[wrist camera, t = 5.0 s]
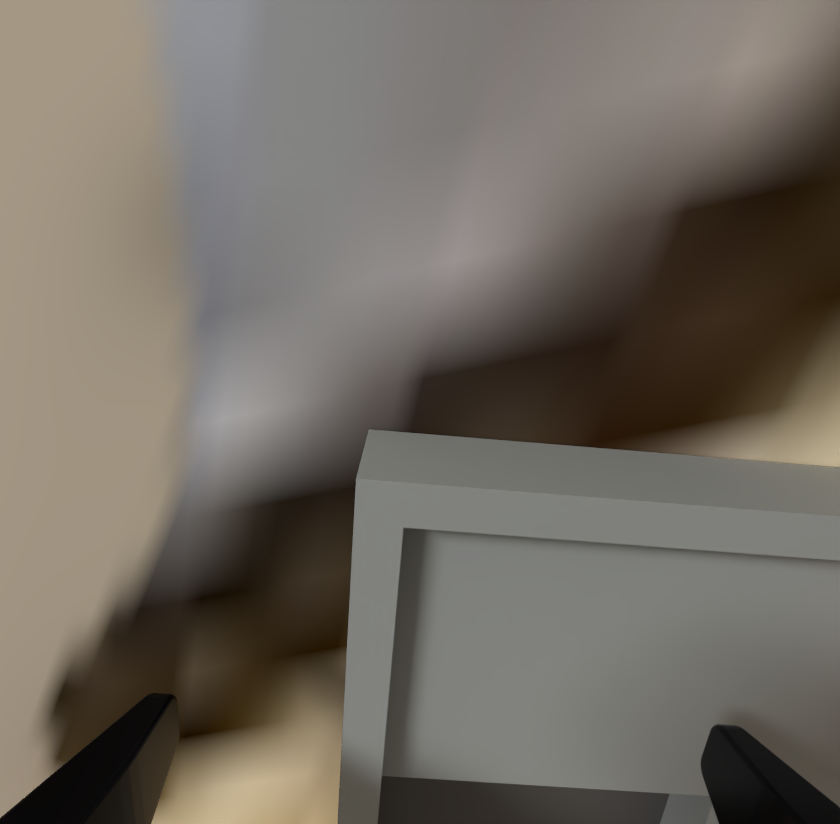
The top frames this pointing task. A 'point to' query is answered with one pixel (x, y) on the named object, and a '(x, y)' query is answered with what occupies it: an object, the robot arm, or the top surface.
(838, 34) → the top surface
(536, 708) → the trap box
